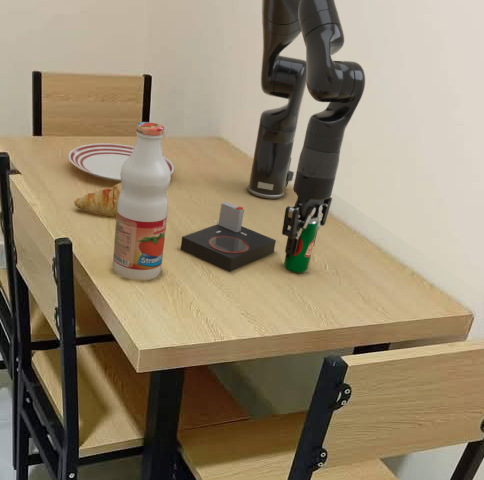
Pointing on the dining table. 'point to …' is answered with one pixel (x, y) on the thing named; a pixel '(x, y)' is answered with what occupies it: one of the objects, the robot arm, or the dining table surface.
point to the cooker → (201, 249)
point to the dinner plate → (104, 160)
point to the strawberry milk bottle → (142, 207)
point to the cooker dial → (231, 216)
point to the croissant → (101, 201)
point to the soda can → (303, 248)
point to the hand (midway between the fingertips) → (299, 249)
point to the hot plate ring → (228, 244)
